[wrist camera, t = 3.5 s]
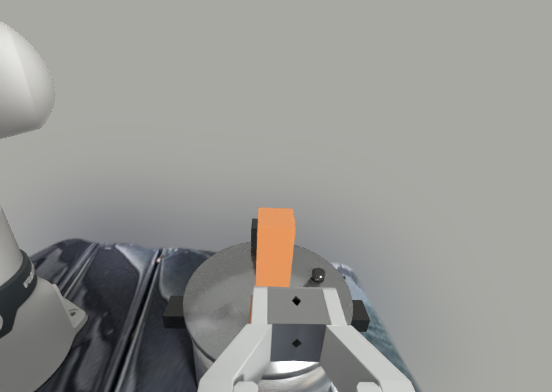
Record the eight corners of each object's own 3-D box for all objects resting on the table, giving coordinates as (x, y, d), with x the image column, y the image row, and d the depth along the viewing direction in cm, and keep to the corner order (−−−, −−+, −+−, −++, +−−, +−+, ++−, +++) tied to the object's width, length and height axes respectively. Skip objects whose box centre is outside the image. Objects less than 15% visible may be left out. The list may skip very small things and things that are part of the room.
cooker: (375, 447, 29) (421, 344, 22) (147, 448, 28) (114, 339, 21) (335, 306, 47) (354, 220, 39) (193, 303, 45) (183, 214, 38)
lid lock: (290, 334, 26) (302, 231, 21) (248, 333, 26) (250, 229, 21) (287, 301, 30) (297, 206, 25) (251, 300, 30) (253, 204, 24)
